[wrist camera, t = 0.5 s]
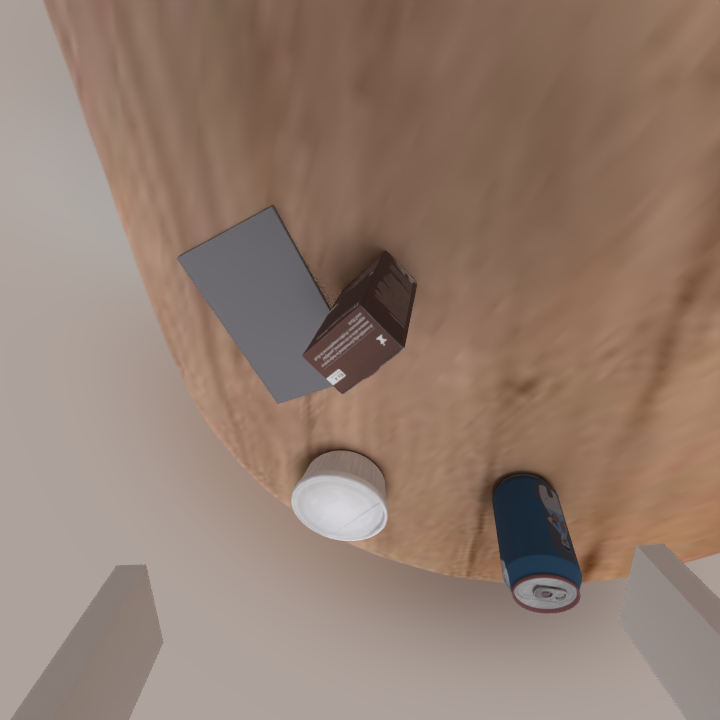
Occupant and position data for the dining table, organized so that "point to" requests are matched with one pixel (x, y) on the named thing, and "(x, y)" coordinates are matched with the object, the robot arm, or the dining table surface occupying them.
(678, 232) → the dining table surface
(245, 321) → the mat
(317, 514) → the ramekin
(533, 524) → the soda can
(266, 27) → the dining table surface
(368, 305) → the box
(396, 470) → the dining table surface
